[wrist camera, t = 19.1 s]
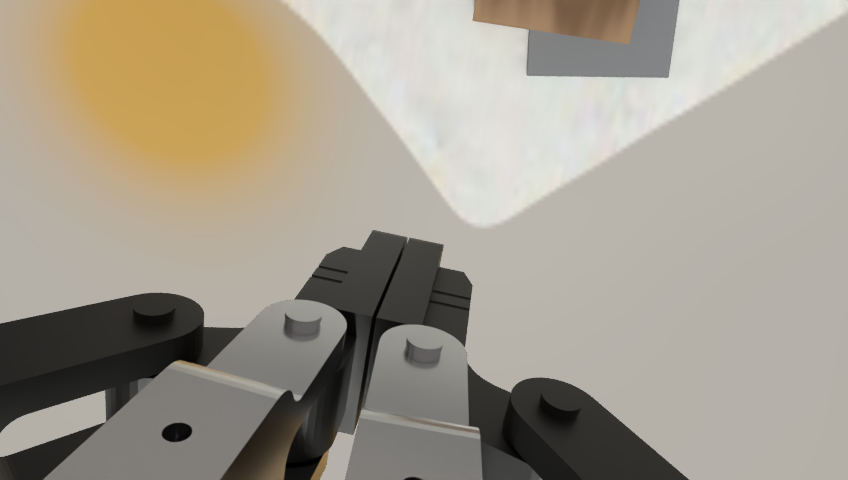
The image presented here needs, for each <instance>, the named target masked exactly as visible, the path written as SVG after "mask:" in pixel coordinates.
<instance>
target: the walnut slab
mask: <svg viewBox="0 0 848 480" xmlns="http://www.w3.org/2000/svg"><path fill="white" fill-rule="evenodd" d="M639 3H640V0H476V2H475V9H474V15H473V21H477V22H484V23H491V24H497V25H504V26H510V27H517V28H524V29H530V30H537V31H544V32H550V33H557V34H563V35H570V36H577V37H583V38H590V39H597V40H603V41H610V42H616V43H623V44H629V43H630V39H631V35H632V31H633V27H634V23H635V19H636V15H637V11H638V7H639Z"/></svg>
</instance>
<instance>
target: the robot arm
mask: <svg viewBox="0 0 848 480" xmlns="http://www.w3.org/2000/svg"><path fill="white" fill-rule="evenodd" d="M443 246H444V245H442V244H437V243H433V242H428V241H423V240H418V239H414V238H409V241H408V243H407V237H404V236H399V235H394V234H390V233H385V232H380V231H375V230H373V231H372V233H371V234H370V236H369V238H368V239H367V241H366V243H365V245H364V246H363V248H362V249H361V250H356V249H352V248H347V247H342V248H340V249H337V250H335V251H333V252H331V253H329V254H327V255H326V256H325V258H324V259H323V260H322V262H321V263H320V265H319V267H318V268H317V269H316V270H315V272H314V273H313V274H312V277H310V278H309V280H308V281H307V282H306V284H305V285H304V287H303V288H302V289H301V291H300V292H299V294H298V295H297V296H296V298H295V299H294V300H286V301H281V302H277V303H274V304H271V305H269V306H267V307H266V308H265V309H263V310H262V311H261V312H260V313H259V314H258V315H257V316H256V317H255V318H254V319H253V320H252V321H251V322H250V323H249V324H248V325H247V326H246V327H245V328H216V327H215V328H213V327H204V312H203V309H202V308H201V306H200V305H199V304H197V303H196V302H195V301H193V300H191V299H189V298H186V297H184V296H180V295H176V294H169V293H146V294H140V295H134V296H129V297H124V298H119V299H115V300H110V301H105V302H101V303H96V304H91V305H86V306H82V307H77V308H72V309H68V310H63V311H58V312H53V313H49V314H44V315H39V316H34V317H30V318H25V319H20V320H16V321H11V322H6V323H1V324H0V432H1V431H2V430H3V429H4V428H5V427H6V426H7V425H8V424H9V423H11V422H12V421H14V420H15V419H17V418H19V417H21V416H23V415H26V414H29V413H32V412H35V411H39V410H41V409H45V408H48V407H51V406H55V405H58V404H61V403H65V402H68V401H71V400H74V399H78V398H81V397H84V396H87V395H91V394H94V393H97V392H100V391H104V390H105V394H106V395H105V396H106V397H105V398H106V422H105V423H102V424H99V425H96V426H93V427H91V428H87V429H85V430H82V431H79V432H76V433H73V434H70V435H67V436H64V437H61V438H58V439H55V440H53V441H49V442H46V443H44V444H41V445H38V446H35V447H32V448H29V449H26V450H23V451H20V452H17V453H14V454H11V455H8V456H5V457H0V480H320V478H321V476H322V474H323V472H324V470H325V468H326V465H327V459H328V453H329V448H330V447H331V446H332V444H333V442H334V440H335V437H336V435H337V432H343V433H347V434H352V435H353V434H354V431H355V428H356V425H357V422H358V420H359V422H358V426H357V430H356V434H355V439H354V443H353V447H352V452H351V456H350V460H349V464H348V469H347V473H346V477H345V480H689V479H688V478H686V477H685V476H684V475H683V474H682V473H680V472H679V471H678V470H677V469H676V468H675V467H673V466H672V465H671V464H670V463H669V462H668V461H666V460H665V459H664V458H663V457H662V456H660V455H659V454H658V453H657V452H656V451H655V450H653V449H652V448H651V447H650V446H649V445H648V444H646V443H645V442H644V441H643V440H642V439H640V438H639V437H638V436H637V435H636V434H635V433H633V432H632V431H631V430H630V429H629V428H628V427H626V426H625V425H624V424H623V423H622V422H621V421H619V420H618V419H617V418H616V417H615V416H613V415H612V414H611V413H610V412H609V411H608V410H606V409H605V408H604V407H603V406H602V405H601V404H599V403H598V402H597V401H596V400H595V399H594V398H592V397H591V396H590V395H588V394H587V393H586V392H584V391H582V390H581V389H579V388H577V387H575V386H573V385H571V384H568V383H565V382H562V381H559V380H555V379H549V378H531V379H526V380H523V381H521V382H519V383H518V384H516V385H515V387H514V388H513V389H512V392H511V393H510V392H508V391H506V390H503V389H501V388H499V387H497V386H495V385H492V384H491V383H489V382H487V381H485V380H484V379H483V378H481V377H480V376H479V375H477V374H476V373H475V372H474V371H473V370H472V369H471V367H470V366H469V365H468V363H467V352H466V350H465V342H466V334H467V326H468V318H469V308H470V300H471V293H472V284H471V283H470V281H469V279H468V278H467V276H466V275H465V273H464V272H460V271H455V270H450V269H445V268H441V267H439V266H440V261H441V257H442V251H443Z"/></svg>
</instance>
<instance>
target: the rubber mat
mask: <svg viewBox="0 0 848 480" xmlns="http://www.w3.org/2000/svg"><path fill="white" fill-rule="evenodd" d="M678 6H679V0H640V3H639V7H638V11H637V15H636V19H635V23H634V27H633V31H632V35H631V39H630V43H629V44H623V43H616V42H610V41H603V40H597V39H590V38H583V37H577V36H570V35H563V34H557V33H550V32H544V31H537V30H530V29H529V46H528V63H527V76H584V77H659V78H668V76H669V69H670V62H671V55H672V48H673V41H674V34H675V27H676V20H677V13H678Z"/></svg>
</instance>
